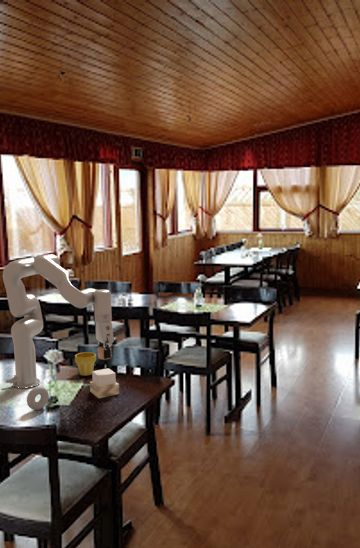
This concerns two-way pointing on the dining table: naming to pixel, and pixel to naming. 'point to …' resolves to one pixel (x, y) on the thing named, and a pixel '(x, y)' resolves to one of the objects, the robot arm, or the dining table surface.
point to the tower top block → (104, 377)
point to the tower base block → (104, 390)
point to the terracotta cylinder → (101, 352)
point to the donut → (32, 396)
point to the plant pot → (85, 362)
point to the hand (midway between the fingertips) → (104, 356)
